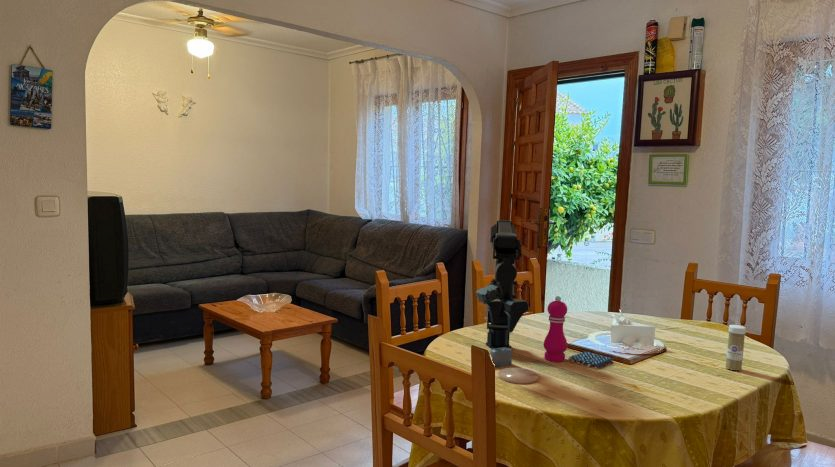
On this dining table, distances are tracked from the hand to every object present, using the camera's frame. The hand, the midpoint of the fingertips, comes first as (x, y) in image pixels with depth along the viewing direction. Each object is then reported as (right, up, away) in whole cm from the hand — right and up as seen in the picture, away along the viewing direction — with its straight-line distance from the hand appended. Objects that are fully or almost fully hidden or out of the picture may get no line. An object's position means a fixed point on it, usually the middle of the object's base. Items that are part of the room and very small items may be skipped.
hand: (502, 328), depth 178 cm
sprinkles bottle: (+71, -13, +3) cm, 72 cm away
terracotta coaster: (+3, -12, -9) cm, 16 cm away
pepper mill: (+18, -11, +8) cm, 22 cm away
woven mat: (+28, -12, +6) cm, 31 cm away
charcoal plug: (0, -11, +1) cm, 11 cm away
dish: (+46, -10, +27) cm, 55 cm away
